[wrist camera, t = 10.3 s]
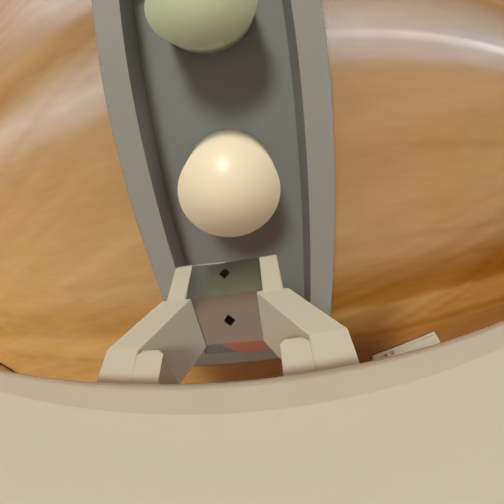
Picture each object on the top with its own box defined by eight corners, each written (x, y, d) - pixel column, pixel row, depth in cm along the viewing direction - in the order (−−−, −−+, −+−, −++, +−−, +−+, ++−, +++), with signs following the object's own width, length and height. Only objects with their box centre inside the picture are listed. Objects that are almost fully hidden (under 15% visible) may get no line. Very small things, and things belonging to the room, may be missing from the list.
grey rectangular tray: (292, -58, 11) (304, -81, 8) (318, 320, 28) (327, 350, 25) (112, -29, 11) (90, -44, 8) (195, 335, 28) (191, 366, 25)
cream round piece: (267, 123, 17) (275, 135, 14) (275, 201, 20) (284, 230, 16) (181, 136, 17) (167, 151, 14) (196, 211, 20) (189, 242, 16)
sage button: (247, -27, 12) (251, -51, 8) (258, 47, 14) (264, 38, 11) (159, -12, 12) (140, -31, 8) (168, 61, 14) (150, 57, 11)
